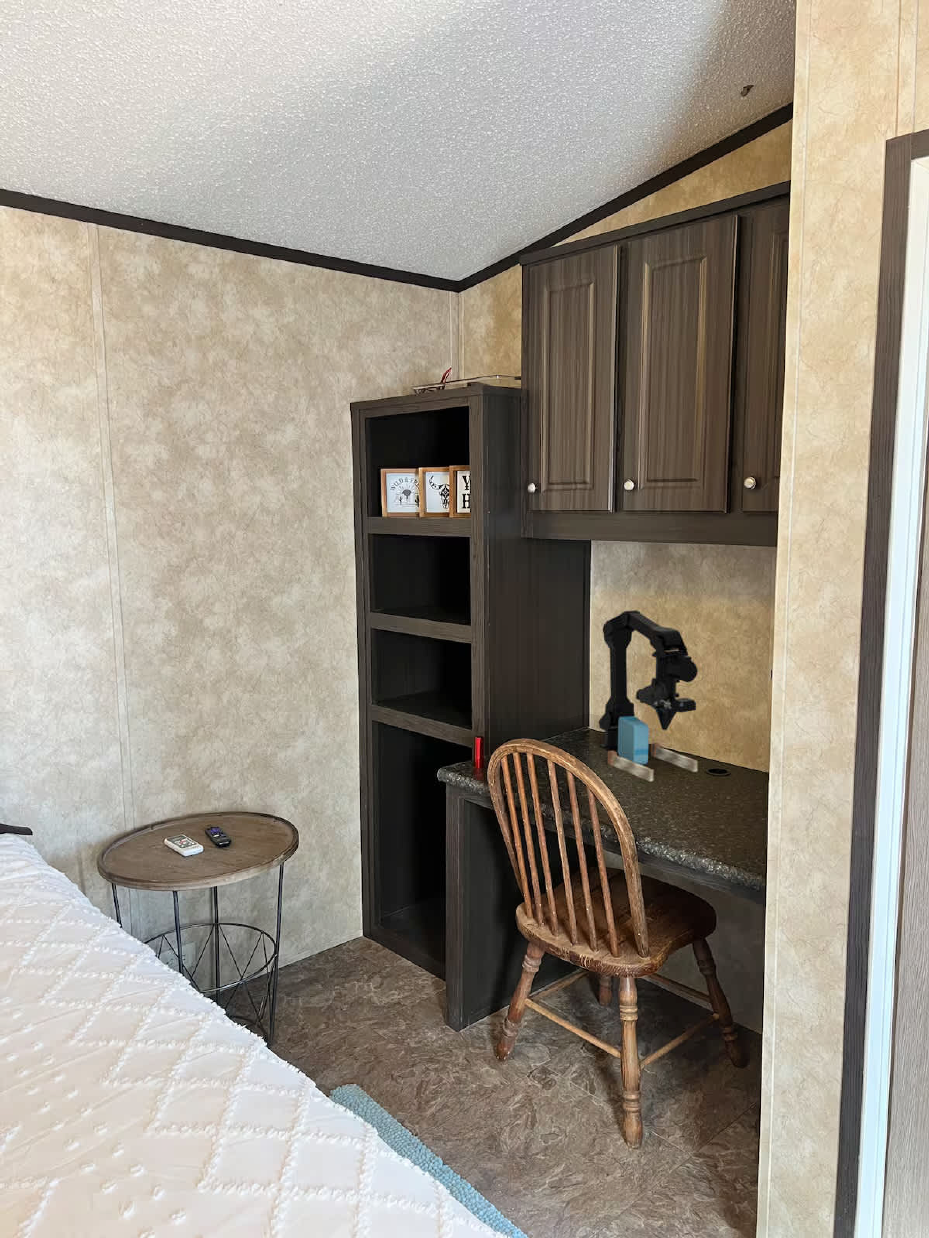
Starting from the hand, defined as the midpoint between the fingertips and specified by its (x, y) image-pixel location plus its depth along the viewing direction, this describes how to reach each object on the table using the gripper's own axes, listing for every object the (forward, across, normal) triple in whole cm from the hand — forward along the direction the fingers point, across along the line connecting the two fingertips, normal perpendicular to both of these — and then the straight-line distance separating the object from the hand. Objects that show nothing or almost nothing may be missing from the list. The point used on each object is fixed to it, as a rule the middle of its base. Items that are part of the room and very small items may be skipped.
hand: (664, 729), depth 259 cm
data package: (+12, -13, 0) cm, 18 cm away
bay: (+12, -4, 0) cm, 13 cm away
